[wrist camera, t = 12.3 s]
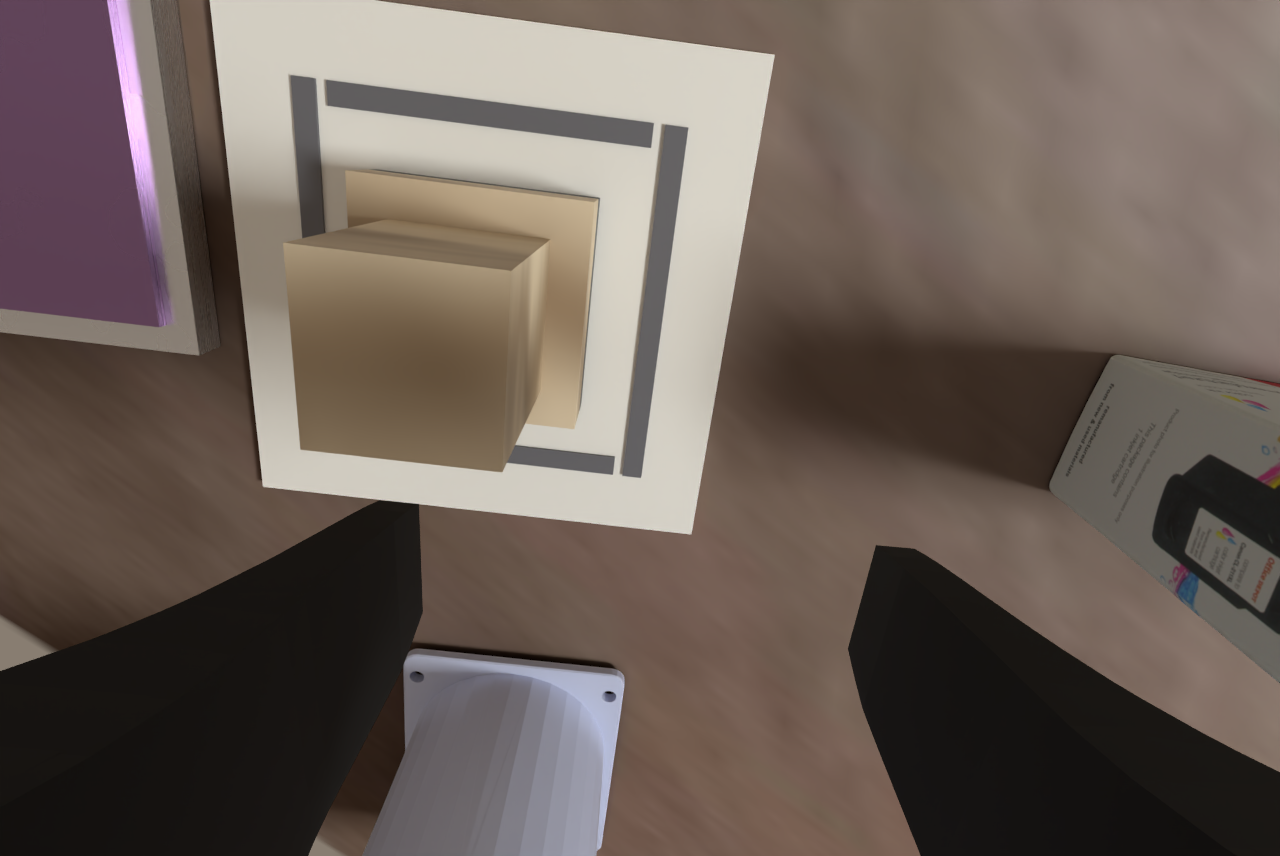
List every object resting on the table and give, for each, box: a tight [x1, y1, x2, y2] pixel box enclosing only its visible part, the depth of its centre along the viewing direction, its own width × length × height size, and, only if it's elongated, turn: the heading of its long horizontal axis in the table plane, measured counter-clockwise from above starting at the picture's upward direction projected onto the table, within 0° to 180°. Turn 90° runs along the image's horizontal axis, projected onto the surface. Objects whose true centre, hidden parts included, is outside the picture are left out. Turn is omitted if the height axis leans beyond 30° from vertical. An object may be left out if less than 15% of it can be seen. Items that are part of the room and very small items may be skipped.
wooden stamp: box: [283, 169, 600, 472], centre depth 16 cm, size 6×6×7 cm
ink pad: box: [0, 0, 220, 355], centre depth 17 cm, size 11×9×1 cm
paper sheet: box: [210, 0, 774, 534], centre depth 19 cm, size 14×14×1 cm
